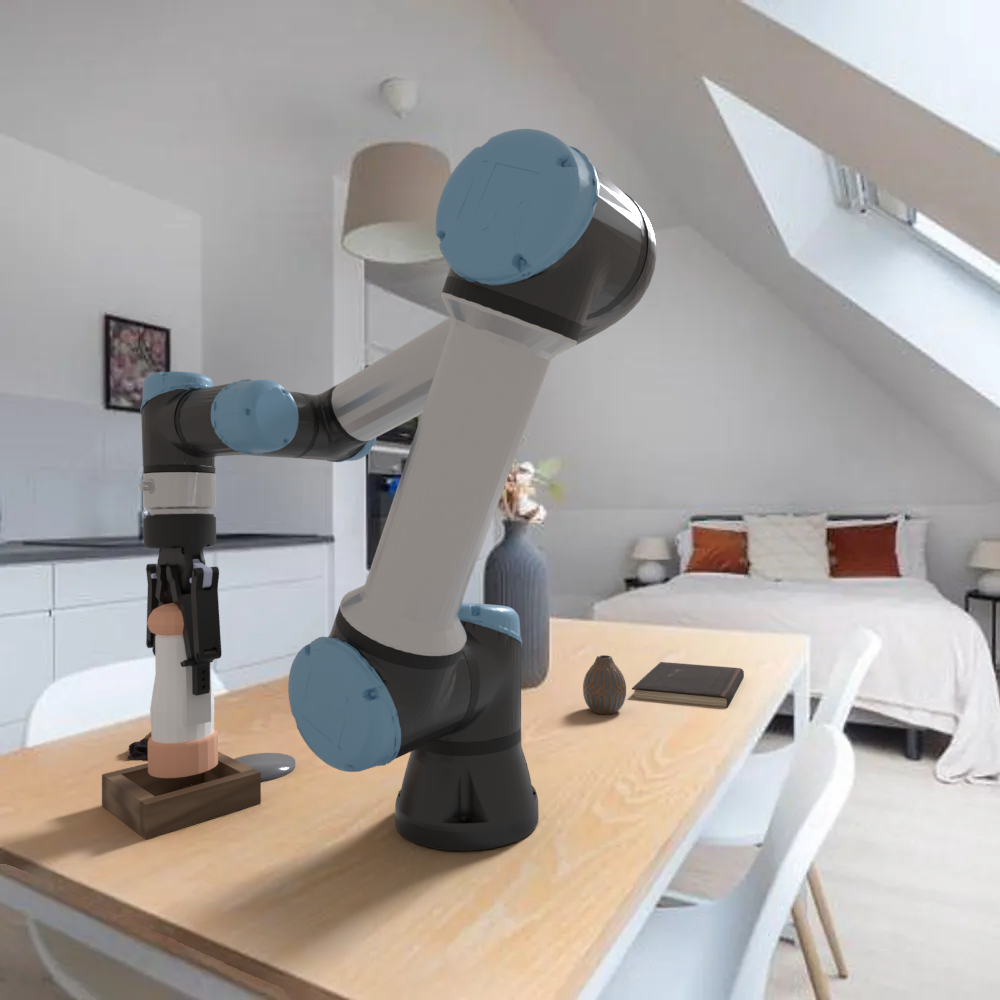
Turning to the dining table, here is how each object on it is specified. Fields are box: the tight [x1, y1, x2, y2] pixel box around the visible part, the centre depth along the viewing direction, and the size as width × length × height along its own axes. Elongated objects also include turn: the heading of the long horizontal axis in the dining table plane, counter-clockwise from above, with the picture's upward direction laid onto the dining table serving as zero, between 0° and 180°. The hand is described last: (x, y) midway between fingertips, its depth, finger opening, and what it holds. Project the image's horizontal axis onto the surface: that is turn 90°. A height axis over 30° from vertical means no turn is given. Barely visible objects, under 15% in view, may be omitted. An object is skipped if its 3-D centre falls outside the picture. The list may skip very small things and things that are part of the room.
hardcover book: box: [631, 661, 745, 708], centre depth 136 cm, size 16×23×2 cm
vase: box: [582, 654, 627, 715], centre depth 121 cm, size 7×7×9 cm
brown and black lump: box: [125, 731, 151, 762], centre depth 104 cm, size 11×8×4 cm
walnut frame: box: [101, 751, 262, 840], centre depth 84 cm, size 12×12×4 cm
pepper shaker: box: [146, 603, 219, 778], centre depth 84 cm, size 7×7×19 cm
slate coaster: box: [234, 752, 296, 782], centre depth 95 cm, size 9×9×1 cm
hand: (183, 717), depth 84 cm, fingers closed on pepper shaker, 7 cm apart
